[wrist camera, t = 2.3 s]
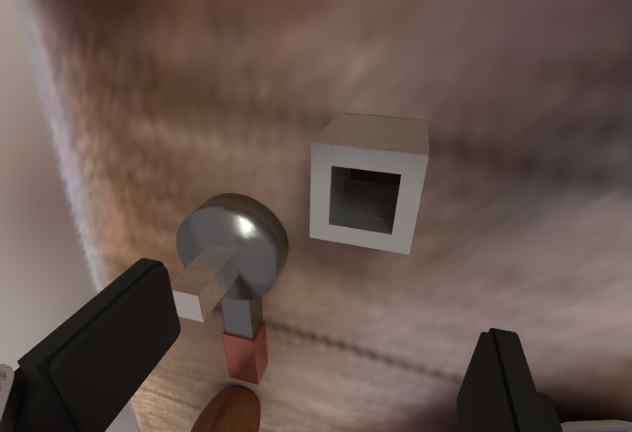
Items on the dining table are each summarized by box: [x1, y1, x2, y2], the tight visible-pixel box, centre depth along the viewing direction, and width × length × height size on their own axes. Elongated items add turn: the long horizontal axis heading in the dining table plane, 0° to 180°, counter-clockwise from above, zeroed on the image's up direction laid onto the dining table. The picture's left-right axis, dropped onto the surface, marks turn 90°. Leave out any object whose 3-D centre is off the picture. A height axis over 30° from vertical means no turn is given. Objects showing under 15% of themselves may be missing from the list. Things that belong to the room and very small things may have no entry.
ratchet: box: [171, 193, 289, 385], centre depth 27 cm, size 8×19×8 cm, turn 179°
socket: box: [310, 113, 429, 255], centre depth 19 cm, size 5×5×6 cm
